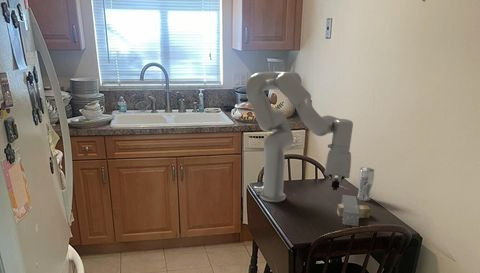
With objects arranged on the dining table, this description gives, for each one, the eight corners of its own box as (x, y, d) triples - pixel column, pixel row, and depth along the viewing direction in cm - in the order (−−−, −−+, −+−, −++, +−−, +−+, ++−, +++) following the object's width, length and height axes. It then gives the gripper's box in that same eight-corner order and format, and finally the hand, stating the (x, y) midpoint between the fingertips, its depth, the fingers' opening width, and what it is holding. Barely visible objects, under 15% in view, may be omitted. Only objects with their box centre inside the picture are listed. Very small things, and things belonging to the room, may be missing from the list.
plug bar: (338, 216, 161) (339, 207, 160) (336, 212, 165) (337, 204, 164) (369, 218, 160) (370, 209, 160) (366, 213, 164) (367, 205, 163)
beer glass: (355, 200, 179) (359, 170, 175) (356, 194, 185) (360, 166, 182) (370, 202, 177) (374, 172, 173) (371, 197, 183) (375, 168, 179)
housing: (342, 224, 153) (344, 211, 152) (341, 206, 171) (342, 194, 170) (357, 226, 152) (359, 213, 151) (354, 207, 170) (356, 196, 169)
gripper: (322, 148, 154) (317, 189, 159) (359, 153, 151) (353, 194, 156) (322, 144, 161) (317, 183, 166) (358, 148, 158) (352, 188, 163)
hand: (334, 189), depth 161 cm, fingers closed
